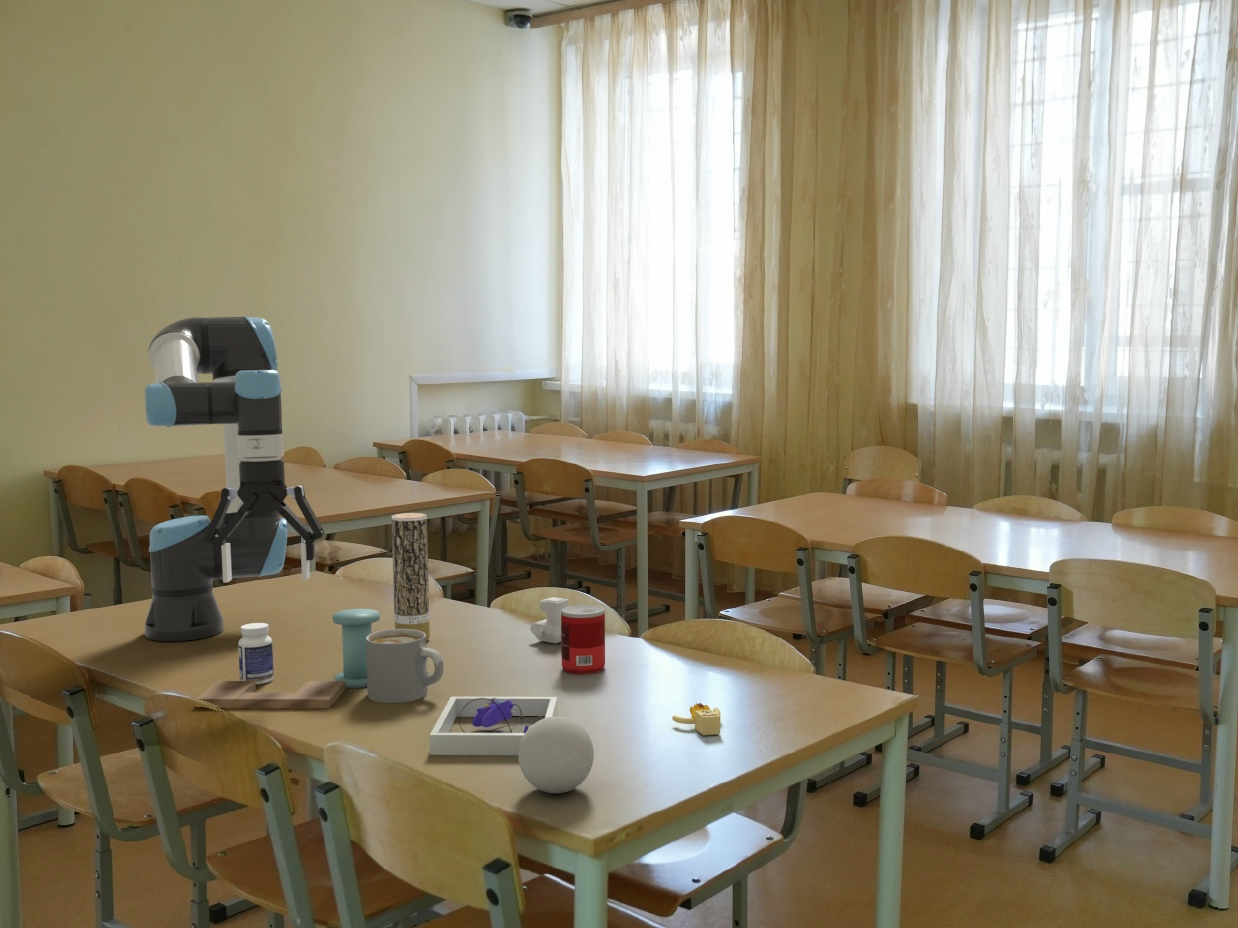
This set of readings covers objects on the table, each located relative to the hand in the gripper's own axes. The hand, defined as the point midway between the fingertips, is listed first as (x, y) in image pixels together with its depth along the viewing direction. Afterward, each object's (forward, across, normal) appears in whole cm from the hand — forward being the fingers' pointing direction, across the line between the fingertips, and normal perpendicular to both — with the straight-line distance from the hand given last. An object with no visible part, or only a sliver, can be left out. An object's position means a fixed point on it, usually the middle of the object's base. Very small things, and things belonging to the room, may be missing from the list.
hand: (266, 580), depth 209 cm
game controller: (+20, +42, -30) cm, 55 cm away
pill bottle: (+18, -2, 0) cm, 18 cm away
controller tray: (+19, +41, -31) cm, 55 cm away
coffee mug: (+19, +25, -10) cm, 33 cm away
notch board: (+18, +3, -11) cm, 21 cm away
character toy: (+20, +74, -29) cm, 82 cm away
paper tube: (+17, +22, +25) cm, 37 cm away
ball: (+21, +51, -53) cm, 76 cm away
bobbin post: (+18, +16, -2) cm, 24 cm away
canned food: (+19, +55, +3) cm, 58 cm away
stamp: (+18, +49, +23) cm, 57 cm away
